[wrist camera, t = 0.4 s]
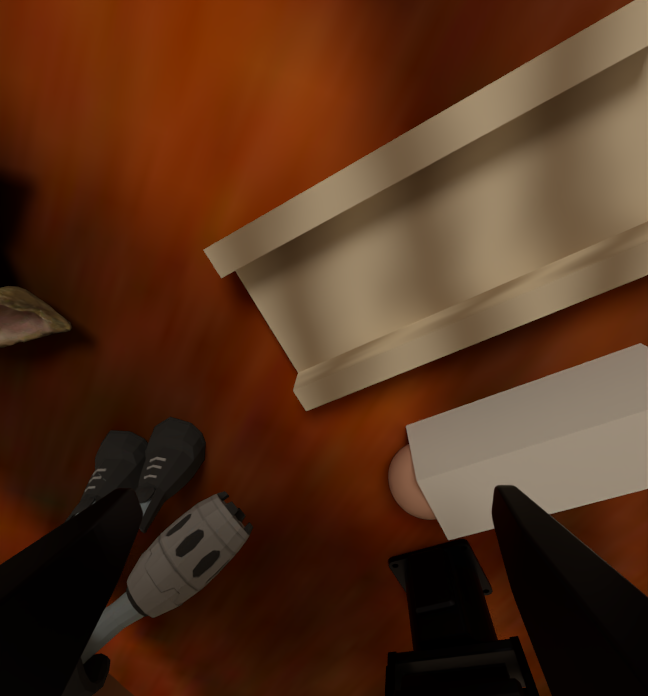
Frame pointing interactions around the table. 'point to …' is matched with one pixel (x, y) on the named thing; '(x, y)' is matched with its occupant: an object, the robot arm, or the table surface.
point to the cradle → (463, 220)
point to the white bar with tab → (531, 445)
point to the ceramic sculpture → (27, 317)
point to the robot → (170, 547)
